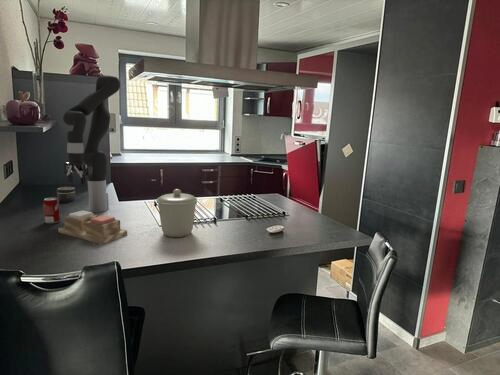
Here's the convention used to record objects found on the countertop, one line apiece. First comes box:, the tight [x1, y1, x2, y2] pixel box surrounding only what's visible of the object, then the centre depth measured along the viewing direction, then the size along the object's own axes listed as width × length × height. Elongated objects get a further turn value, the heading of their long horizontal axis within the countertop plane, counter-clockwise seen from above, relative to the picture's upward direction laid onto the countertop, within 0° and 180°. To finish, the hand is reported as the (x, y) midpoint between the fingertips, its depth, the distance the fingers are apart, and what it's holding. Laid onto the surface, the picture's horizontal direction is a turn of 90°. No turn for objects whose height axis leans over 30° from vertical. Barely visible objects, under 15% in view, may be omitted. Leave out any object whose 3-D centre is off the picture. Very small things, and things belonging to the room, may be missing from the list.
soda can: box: [42, 197, 61, 225], centre depth 171 cm, size 7×7×12 cm
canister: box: [155, 188, 198, 238], centre depth 160 cm, size 18×18×21 cm
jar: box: [56, 186, 76, 203], centre depth 215 cm, size 10×10×8 cm
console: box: [57, 213, 128, 245], centre depth 158 cm, size 14×28×7 cm, turn 63°
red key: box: [90, 214, 116, 225], centre depth 154 cm, size 7×7×3 cm
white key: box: [68, 210, 94, 220], centre depth 160 cm, size 7×7×3 cm
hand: (76, 183), depth 179 cm, fingers open, 8 cm apart
